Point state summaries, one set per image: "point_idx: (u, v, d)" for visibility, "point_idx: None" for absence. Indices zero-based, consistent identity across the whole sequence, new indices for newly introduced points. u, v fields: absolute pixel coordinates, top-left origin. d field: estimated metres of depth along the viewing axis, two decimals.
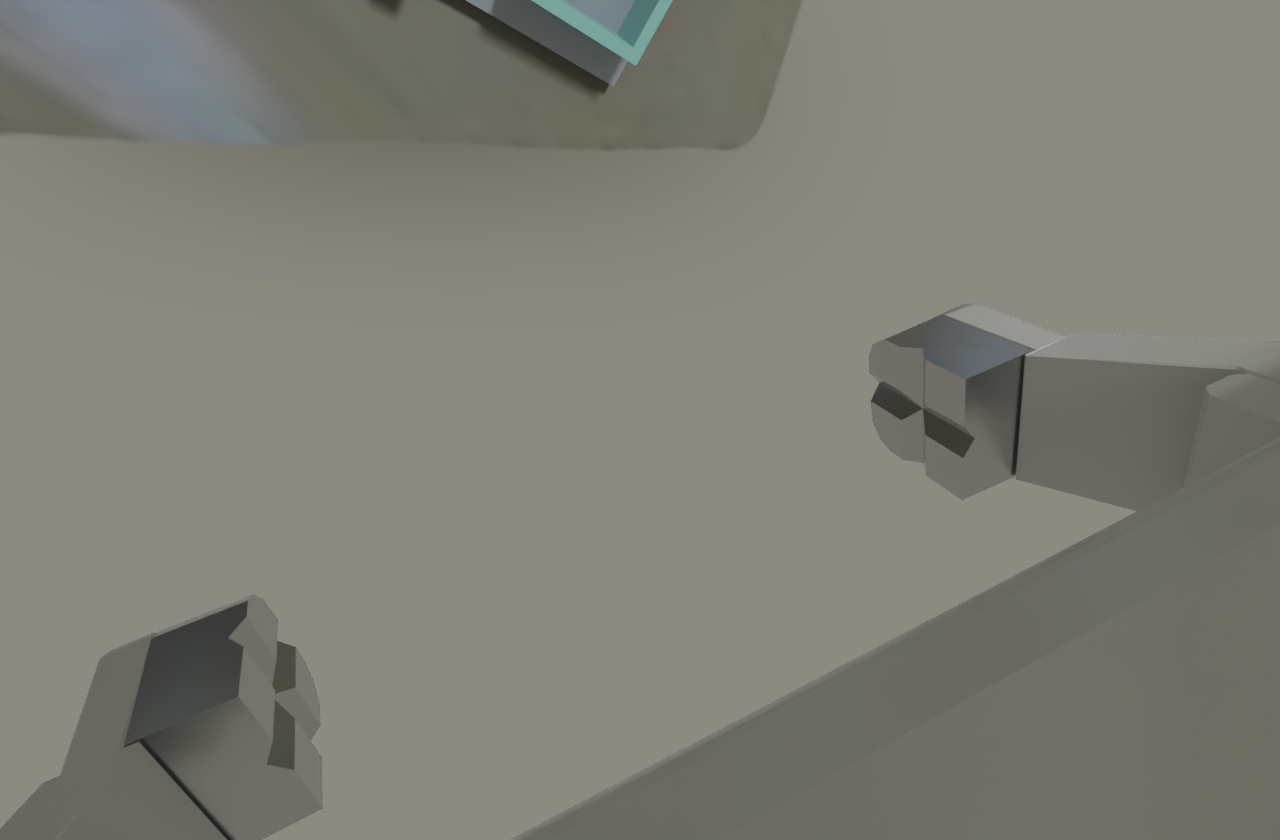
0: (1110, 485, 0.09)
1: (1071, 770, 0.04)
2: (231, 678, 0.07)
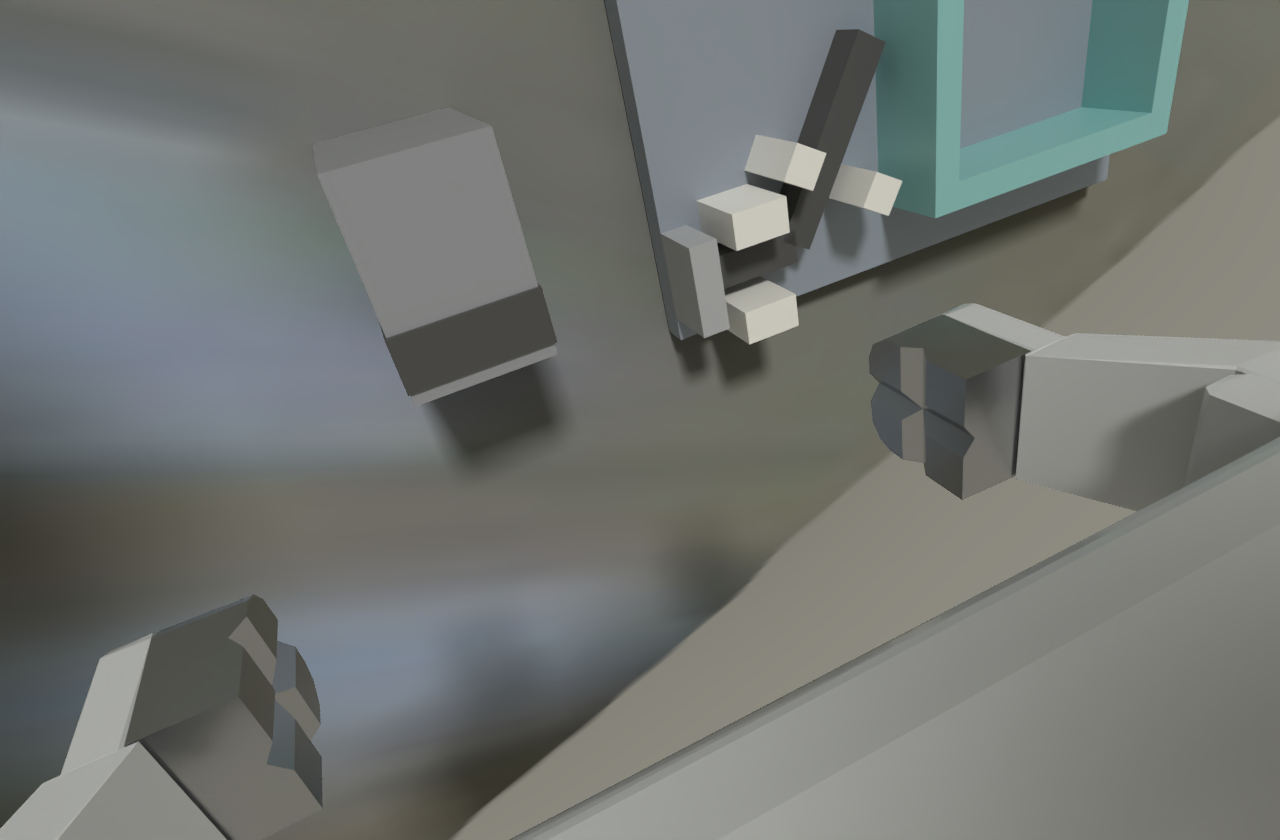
0: (1110, 485, 0.09)
1: (1071, 770, 0.04)
2: (231, 678, 0.07)
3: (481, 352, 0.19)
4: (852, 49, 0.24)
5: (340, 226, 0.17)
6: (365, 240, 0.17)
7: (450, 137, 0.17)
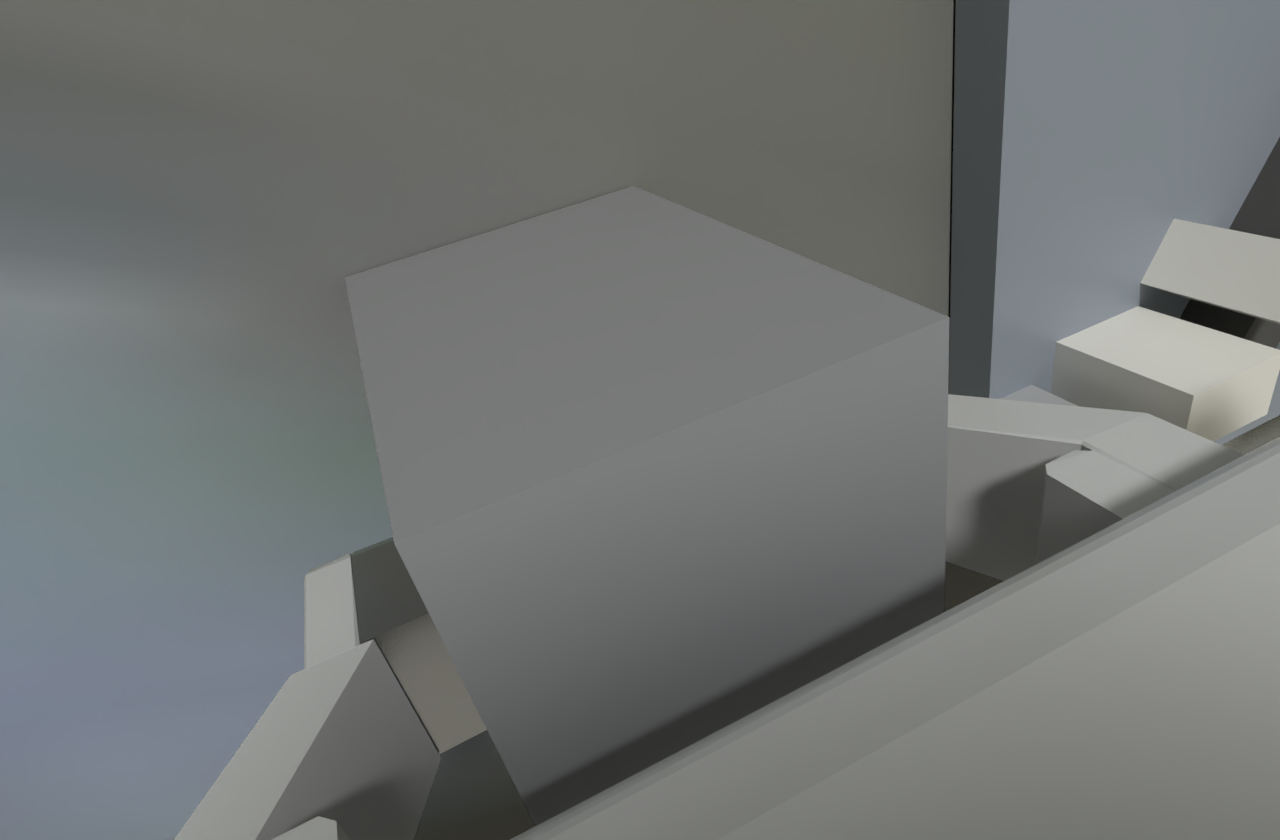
0: (975, 553, 0.08)
1: (1071, 770, 0.04)
2: None
3: None
4: None
5: (464, 676, 0.05)
6: (539, 691, 0.05)
7: (829, 365, 0.05)
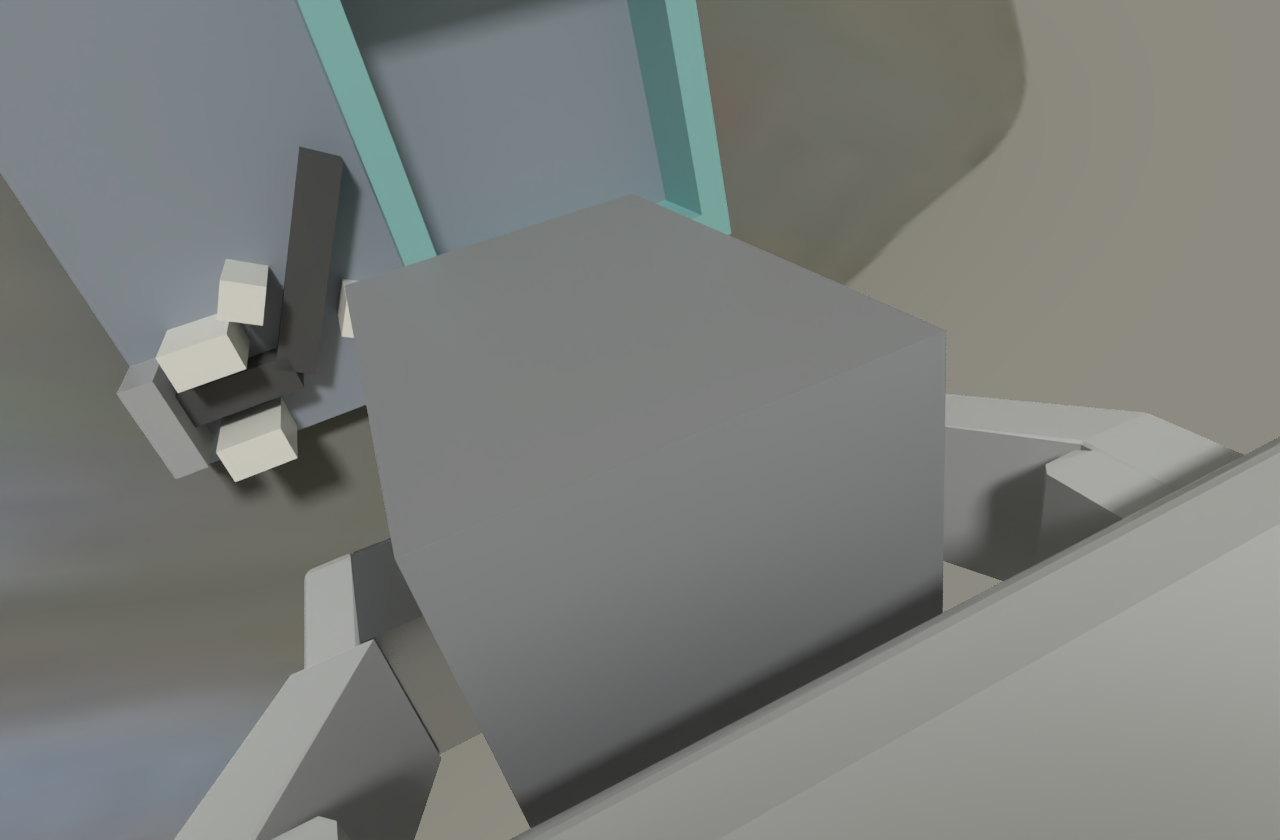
0: (975, 554, 0.08)
1: (1071, 770, 0.04)
2: None
3: None
4: (298, 172, 0.22)
5: (464, 688, 0.05)
6: (537, 703, 0.05)
7: (827, 378, 0.05)
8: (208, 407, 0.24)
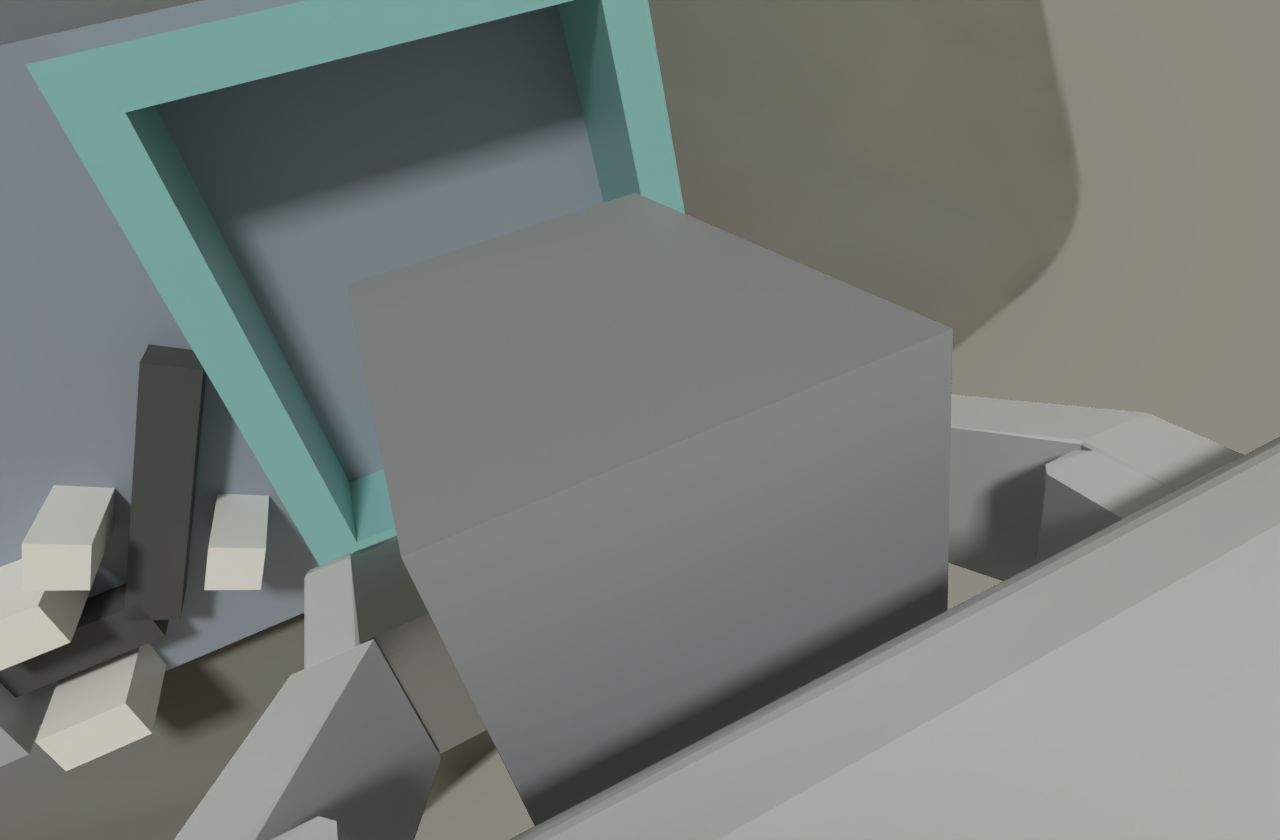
0: (975, 554, 0.08)
1: (1071, 770, 0.04)
2: None
3: None
4: (140, 387, 0.16)
5: (470, 687, 0.05)
6: (544, 701, 0.05)
7: (834, 376, 0.05)
8: (32, 673, 0.18)
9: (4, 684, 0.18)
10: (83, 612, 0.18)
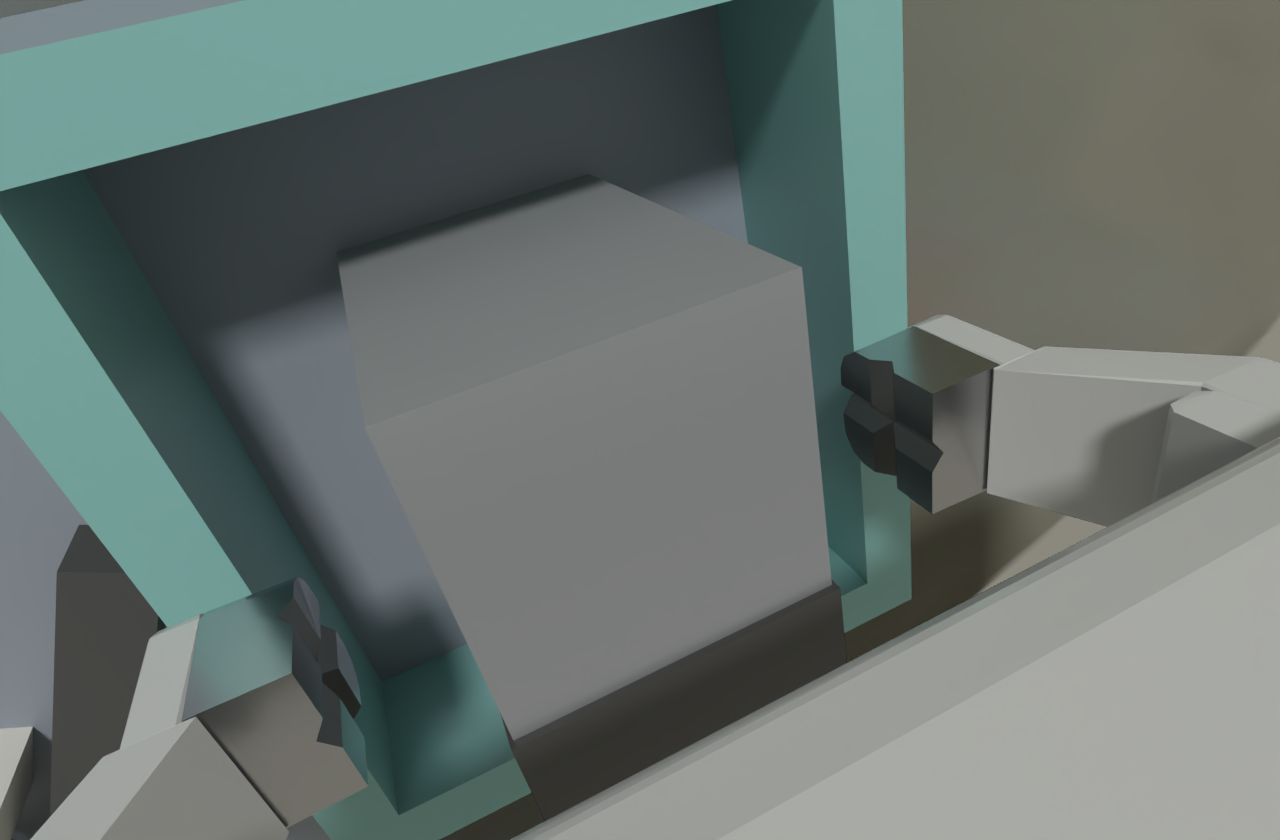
0: (1080, 500, 0.09)
1: (1071, 770, 0.04)
2: (283, 656, 0.07)
3: (706, 726, 0.09)
4: (59, 607, 0.10)
5: (421, 540, 0.06)
6: (481, 560, 0.07)
7: (704, 302, 0.06)
8: None
9: None
10: None
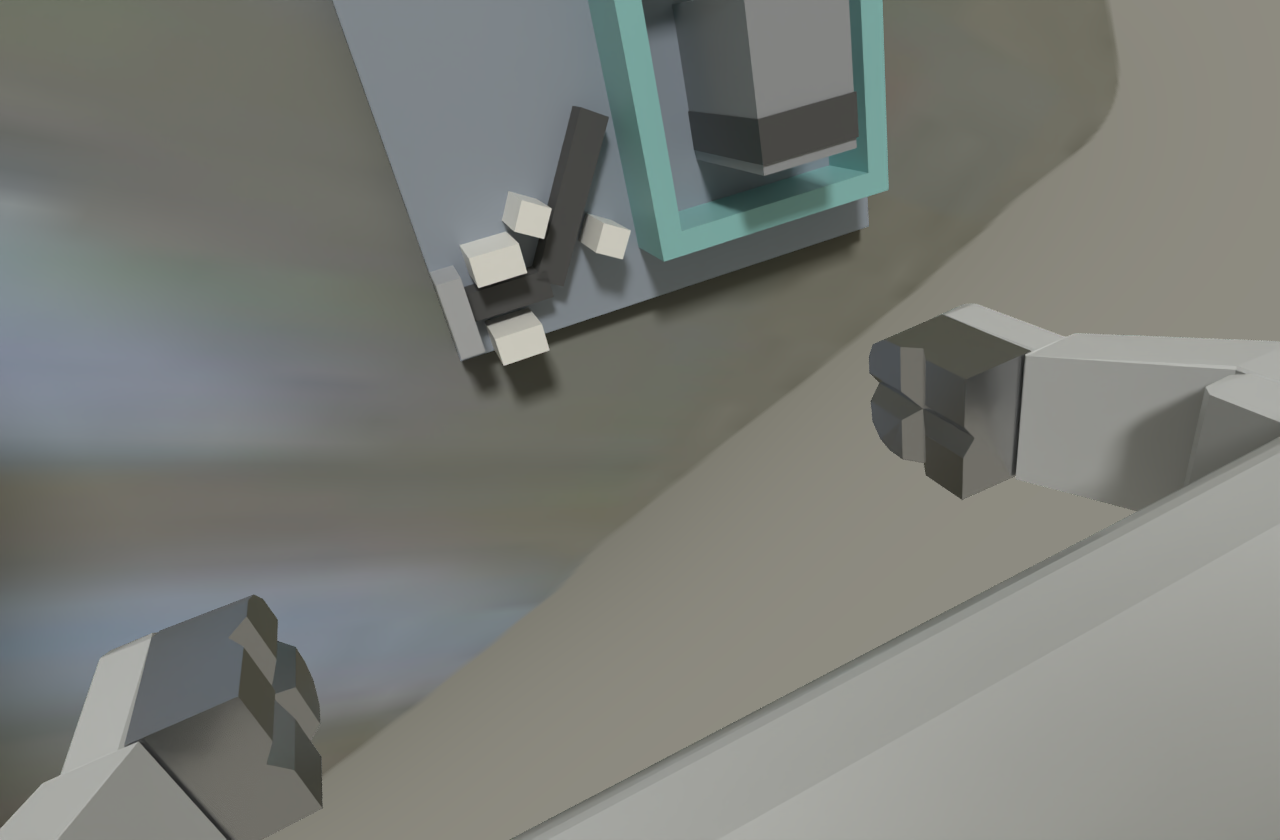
0: (1110, 485, 0.09)
1: (1071, 770, 0.04)
2: (231, 678, 0.07)
3: (812, 137, 0.27)
4: (577, 123, 0.29)
5: (748, 30, 0.25)
6: (760, 42, 0.25)
7: None
8: (485, 306, 0.30)
9: None
10: None
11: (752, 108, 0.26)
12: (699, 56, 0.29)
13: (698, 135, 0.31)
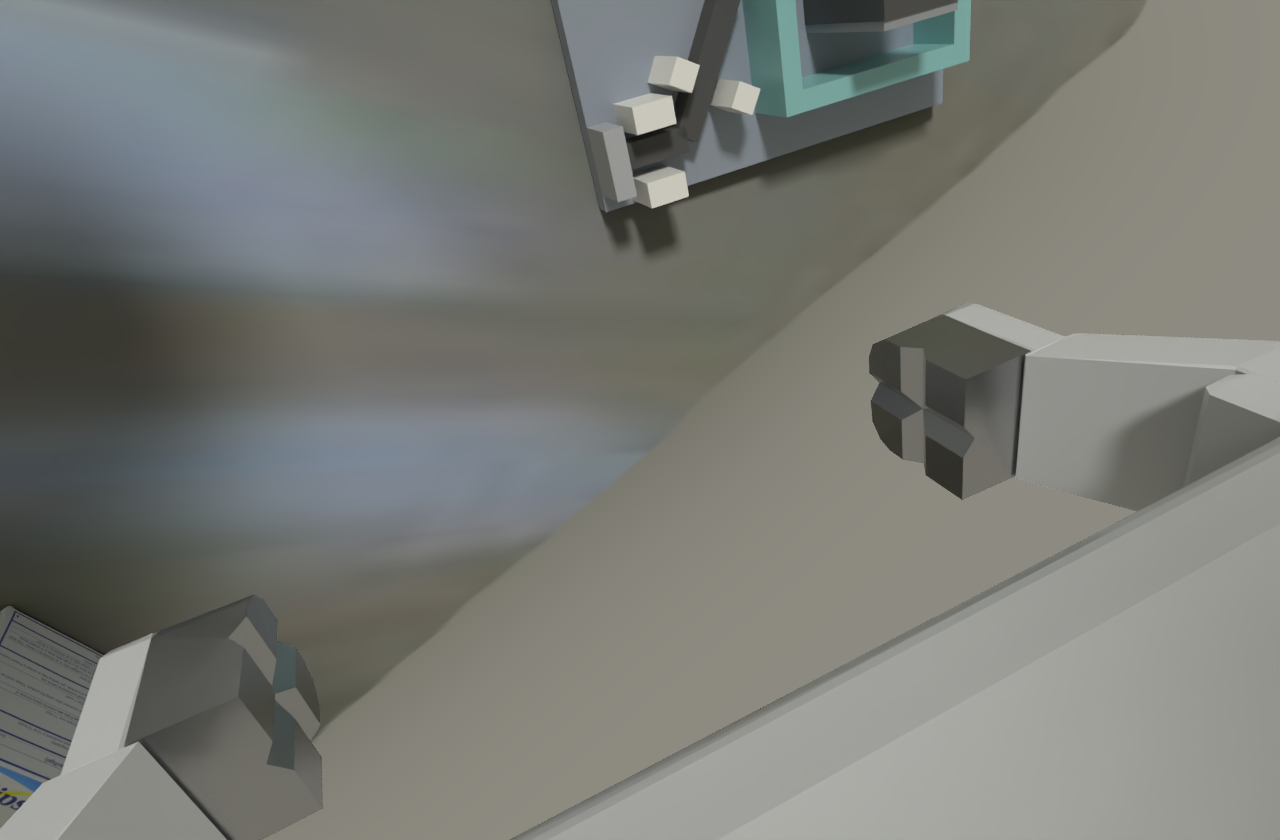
0: (1110, 485, 0.09)
1: (1071, 770, 0.04)
2: (231, 678, 0.07)
3: None
4: None
5: None
6: None
7: None
8: (635, 157, 0.35)
9: None
10: (654, 133, 0.36)
11: None
12: None
13: (812, 9, 0.36)
